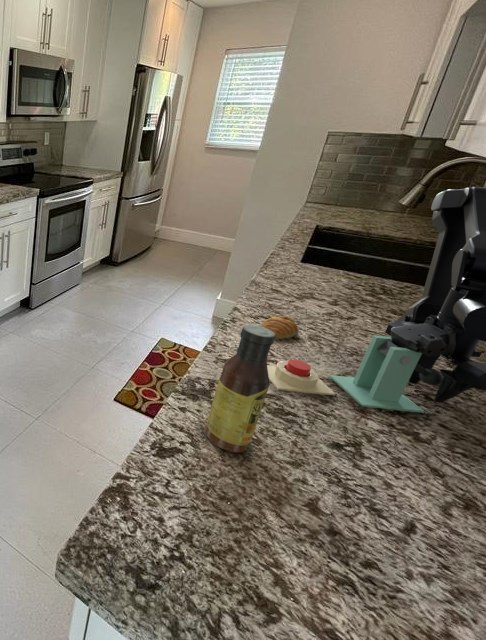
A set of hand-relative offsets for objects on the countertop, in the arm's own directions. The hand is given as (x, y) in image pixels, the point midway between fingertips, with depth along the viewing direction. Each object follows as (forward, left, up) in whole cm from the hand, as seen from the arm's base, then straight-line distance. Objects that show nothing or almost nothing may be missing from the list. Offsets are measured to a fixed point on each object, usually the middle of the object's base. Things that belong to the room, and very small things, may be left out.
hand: (425, 392), depth 76 cm
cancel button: (+21, -2, 0) cm, 21 cm away
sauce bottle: (+41, +17, -2) cm, 45 cm away
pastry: (+13, -23, -2) cm, 27 cm away
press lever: (+5, 0, +4) cm, 7 cm away
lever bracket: (+8, 0, -2) cm, 9 cm away
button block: (+21, -2, -2) cm, 21 cm away
